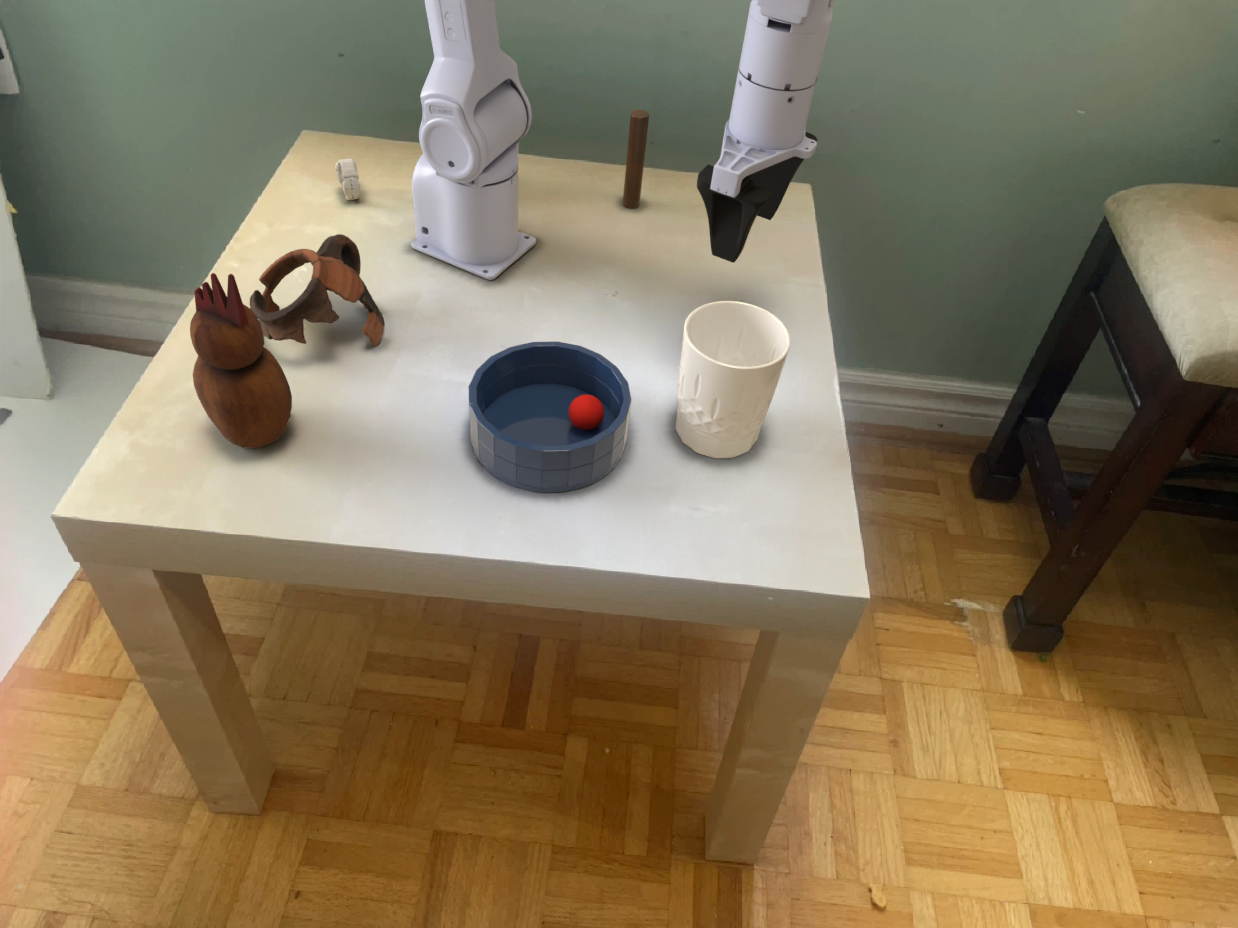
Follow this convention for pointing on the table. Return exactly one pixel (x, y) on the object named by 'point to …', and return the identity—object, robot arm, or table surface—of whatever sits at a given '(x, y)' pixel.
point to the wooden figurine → (237, 369)
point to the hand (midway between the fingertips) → (743, 235)
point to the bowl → (547, 416)
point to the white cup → (728, 376)
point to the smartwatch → (348, 178)
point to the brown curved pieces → (316, 291)
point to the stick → (635, 158)
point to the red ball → (586, 412)
